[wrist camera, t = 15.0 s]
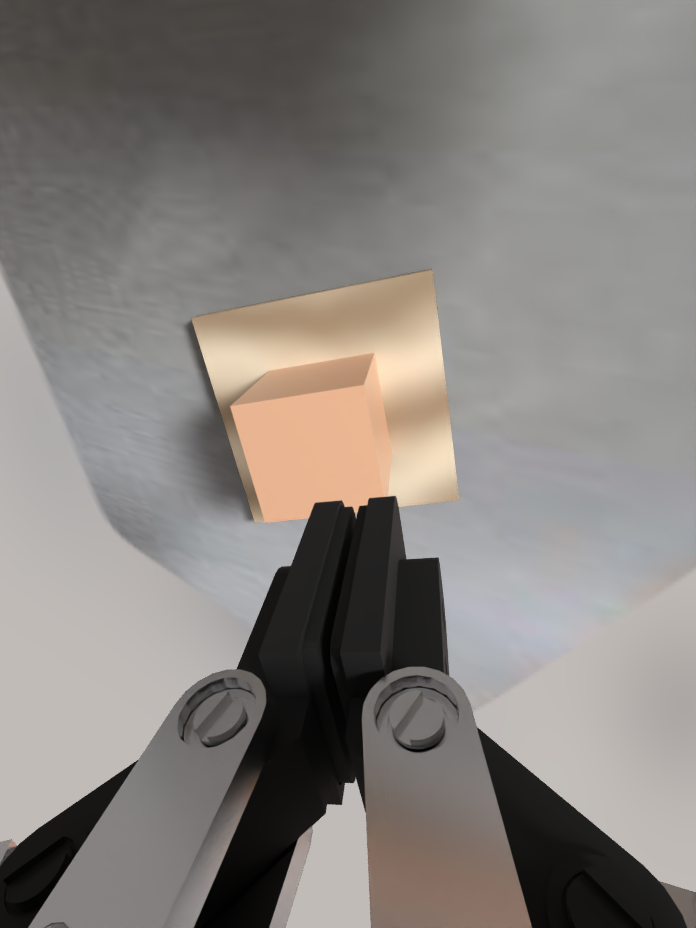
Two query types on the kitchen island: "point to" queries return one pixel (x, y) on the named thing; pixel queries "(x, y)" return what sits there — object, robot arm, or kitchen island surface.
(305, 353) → the birch board
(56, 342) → the kitchen island surface
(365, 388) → the peach tan cube
